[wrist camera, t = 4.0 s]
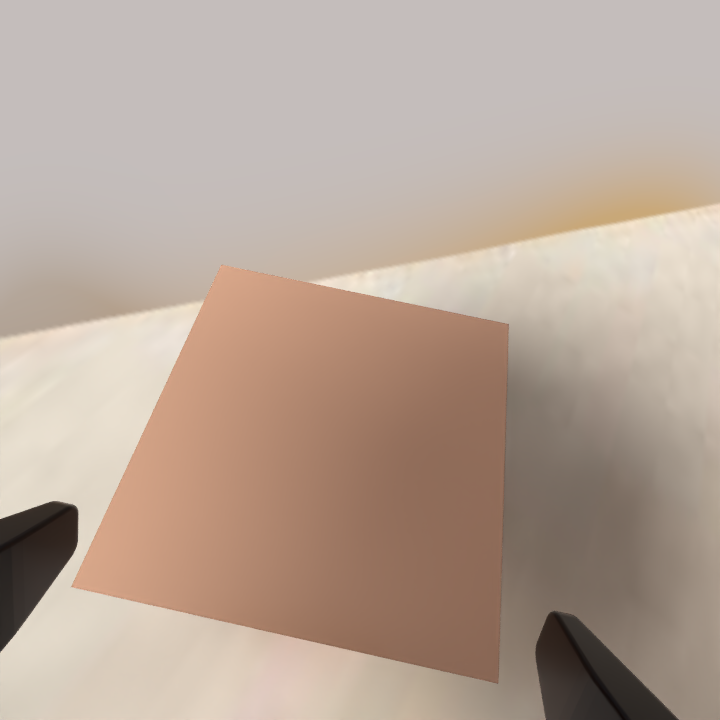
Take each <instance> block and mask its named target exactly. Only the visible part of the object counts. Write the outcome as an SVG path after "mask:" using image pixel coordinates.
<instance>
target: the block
mask: <svg viewBox="0 0 720 720" xmlns="http://www.w3.org/2000/svg"><path fill="white" fill-rule="evenodd" d="M508 331H509V324H505V323H500V322H495V321H490V320H486V319H481V318H476V317H471V316H466V315H461V314H457V313H452V312H447V311H442V310H437V309H432V308H428V307H423V306H418V305H413V304H408V303H403V302H399V301H394V300H389V299H384V298H379V297H374V296H370V295H365V294H360V293H355V292H350V291H345V290H341V289H336V288H331V287H326V286H321V285H316V284H312V283H307V282H302V281H297V280H292V279H287V278H283V277H278V276H273V275H268V274H263V273H258V272H253V271H249V270H244V269H239V268H234V267H229V266H224V265H221V267H220V269H219V271H218V273H217V275H216V277H215V279H214V282H213V284H212V286H211V288H210V290H209V292H208V294H207V297H206V299H205V301H204V303H203V305H202V307H201V309H200V312H199V314H198V316H197V318H196V320H195V322H194V325H193V327H192V329H191V331H190V333H189V335H188V337H187V340H186V342H185V344H184V346H183V348H182V350H181V352H180V355H179V357H178V359H177V361H176V363H175V365H174V367H173V370H172V372H171V374H170V376H169V378H168V380H167V382H166V385H165V387H164V389H163V391H162V393H161V395H160V397H159V400H158V402H157V404H156V406H155V408H154V410H153V412H152V415H151V417H150V419H149V421H148V423H147V425H146V428H145V430H144V432H143V434H142V436H141V438H140V440H139V443H138V445H137V447H136V449H135V451H134V453H133V455H132V458H131V460H130V462H129V464H128V466H127V468H126V470H125V473H124V475H123V477H122V479H121V481H120V483H119V485H118V488H117V490H116V492H115V494H114V496H113V498H112V500H111V503H110V505H109V507H108V509H107V511H106V513H105V515H104V518H103V520H102V522H101V524H100V526H99V528H98V531H97V533H96V535H95V537H94V539H93V541H92V543H91V546H90V548H89V550H88V552H87V554H86V556H85V558H84V561H83V563H82V565H81V567H80V569H79V571H78V573H77V576H76V578H75V580H74V582H73V584H72V586H71V587H74V588H78V589H83V590H87V591H91V592H96V593H100V594H105V595H109V596H114V597H118V598H122V599H127V600H131V601H136V602H140V603H144V604H149V605H153V606H158V607H162V608H167V609H171V610H175V611H180V612H184V613H189V614H193V615H198V616H202V617H206V618H211V619H215V620H220V621H224V622H228V623H233V624H237V625H242V626H246V627H251V628H255V629H259V630H264V631H268V632H273V633H277V634H282V635H286V636H290V637H295V638H299V639H304V640H308V641H312V642H317V643H321V644H326V645H330V646H335V647H339V648H343V649H348V650H352V651H357V652H361V653H366V654H370V655H374V656H379V657H383V658H388V659H392V660H396V661H401V662H405V663H410V664H414V665H419V666H423V667H427V668H432V669H436V670H441V671H445V672H450V673H454V674H458V675H463V676H467V677H472V678H476V679H480V680H485V681H489V682H494V683H498V678H499V643H500V608H501V574H502V539H503V504H504V469H505V435H506V400H507V365H508Z"/></svg>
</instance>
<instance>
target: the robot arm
mask: <svg viewBox="0 0 720 720" xmlns="http://www.w3.org/2000/svg"><path fill="white" fill-rule="evenodd" d="M77 543H78V509H77V507H76V506H75V505H73V504H68V503H63V502H59V501H52V502H49V503H46V504H43V505H40V506H37V507H34V508H31V509H28V510H26V511H23V512H20V513H17V514H14V515H11V516H8V517H5V518H2V519H0V652H1V651H2V650H3V649H4V647H5V646H6V645H7V644H8V642H9V641H10V640H11V639H12V638H13V636H14V635H15V634H16V633H17V631H18V630H19V629H20V627H21V626H22V625H23V623H24V622H25V621H26V619H27V618H28V616H29V615H30V614H31V612H32V611H33V610H34V608H35V607H36V605H37V604H38V603H39V601H40V600H41V598H42V597H43V596H44V594H45V593H46V591H47V590H48V589H49V587H50V586H51V584H52V583H53V582H54V580H55V579H56V577H57V576H58V575H59V573H60V572H61V570H62V569H63V568H64V566H65V565H66V564H67V562H68V561H69V559H70V558H71V557H72V555H73V553H74V551H75V549H76V547H77ZM535 654H536V663H537V669H538V675H539V681H540V687H541V693H542V699H543V705H544V711H545V718H546V720H679V719H678V718H677V717H676V716H675V715H674V714H673V713H672V712H671V711H670V710H669V709H668V708H667V707H666V706H665V705H664V704H663V703H662V702H661V701H660V700H659V699H658V698H657V697H656V696H655V695H654V694H653V693H652V692H651V691H650V690H649V689H648V688H647V687H646V686H645V685H644V684H643V683H642V682H641V681H640V680H639V679H638V678H637V677H636V676H635V675H634V674H633V673H632V672H631V671H630V670H629V669H628V668H627V667H626V666H625V665H624V664H623V663H622V662H621V661H620V660H619V659H618V658H617V657H616V656H615V655H614V654H613V653H612V652H611V651H610V650H609V649H608V648H607V647H606V646H605V645H604V644H603V643H602V642H601V641H600V640H599V639H598V638H597V637H596V636H595V635H594V634H593V633H592V632H591V631H590V630H589V629H588V628H587V627H586V626H585V625H584V624H583V623H582V622H581V621H580V620H579V619H578V618H577V617H575V616H574V615H571V614H567V613H562V612H558V611H552V612H550V613H549V615H548V616H547V619H546V621H545V624H544V626H543V629H542V631H541V634H540V636H539V639H538V641H537V644H536V652H535Z"/></svg>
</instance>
